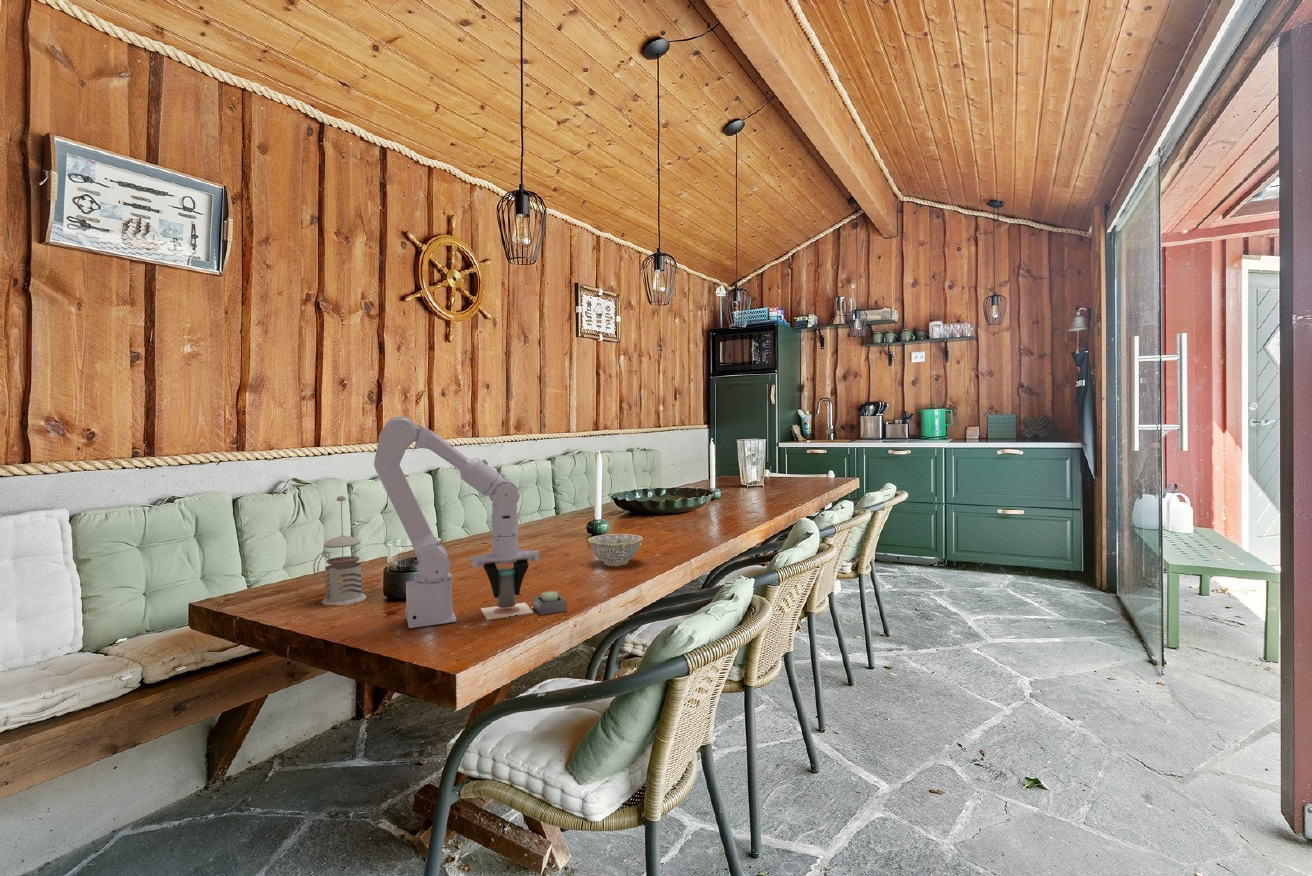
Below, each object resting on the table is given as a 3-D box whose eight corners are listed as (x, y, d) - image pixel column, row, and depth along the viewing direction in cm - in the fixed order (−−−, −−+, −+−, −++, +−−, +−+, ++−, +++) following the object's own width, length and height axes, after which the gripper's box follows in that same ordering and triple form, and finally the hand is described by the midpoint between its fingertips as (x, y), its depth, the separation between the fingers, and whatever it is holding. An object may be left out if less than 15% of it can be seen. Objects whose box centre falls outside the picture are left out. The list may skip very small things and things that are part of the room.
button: (543, 605, 140) (543, 596, 140) (539, 601, 144) (539, 592, 144) (559, 603, 142) (559, 594, 142) (555, 599, 145) (555, 590, 145)
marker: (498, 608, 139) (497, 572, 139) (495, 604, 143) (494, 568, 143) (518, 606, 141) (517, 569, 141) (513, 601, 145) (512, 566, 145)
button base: (540, 615, 139) (539, 604, 139) (533, 607, 144) (533, 597, 144) (566, 611, 141) (566, 600, 141) (559, 604, 147) (559, 593, 147)
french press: (375, 597, 155) (372, 494, 154) (328, 610, 145) (324, 500, 144) (352, 591, 160) (349, 492, 159) (305, 603, 150) (301, 497, 150)
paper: (486, 619, 136) (486, 618, 136) (480, 609, 143) (480, 608, 143) (533, 613, 140) (533, 611, 140) (525, 603, 148) (525, 602, 148)
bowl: (586, 559, 193) (586, 534, 193) (638, 556, 196) (638, 532, 196) (590, 571, 177) (590, 545, 177) (647, 568, 180) (647, 542, 180)
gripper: (533, 528, 148) (534, 587, 148) (468, 534, 142) (470, 595, 142) (540, 533, 142) (542, 594, 142) (473, 539, 136) (474, 603, 136)
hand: (506, 595), depth 142 cm, fingers open, 4 cm apart
